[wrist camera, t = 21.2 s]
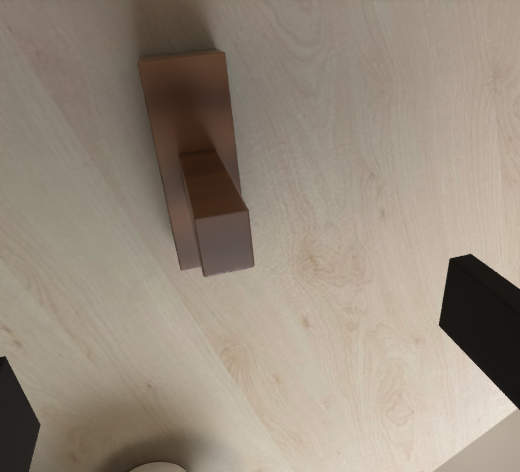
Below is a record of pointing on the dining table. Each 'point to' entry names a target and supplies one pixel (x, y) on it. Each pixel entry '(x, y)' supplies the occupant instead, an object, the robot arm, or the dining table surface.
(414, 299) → the dining table surface
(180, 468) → the bowl
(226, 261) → the brush
